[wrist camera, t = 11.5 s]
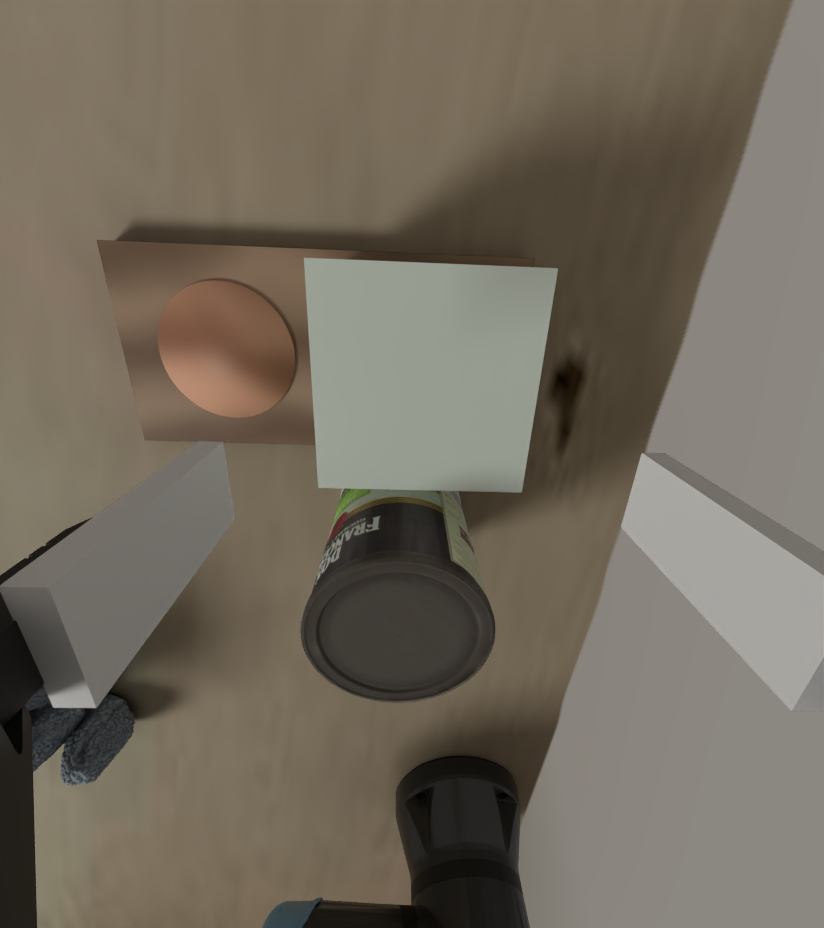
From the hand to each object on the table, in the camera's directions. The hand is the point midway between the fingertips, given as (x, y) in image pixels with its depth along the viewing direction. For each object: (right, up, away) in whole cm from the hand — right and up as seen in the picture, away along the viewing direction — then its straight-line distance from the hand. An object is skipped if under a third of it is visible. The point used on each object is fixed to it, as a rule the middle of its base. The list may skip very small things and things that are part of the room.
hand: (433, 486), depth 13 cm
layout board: (-7, +9, +16) cm, 19 cm away
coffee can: (-2, -3, +21) cm, 22 cm away
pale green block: (0, +8, +15) cm, 17 cm away
